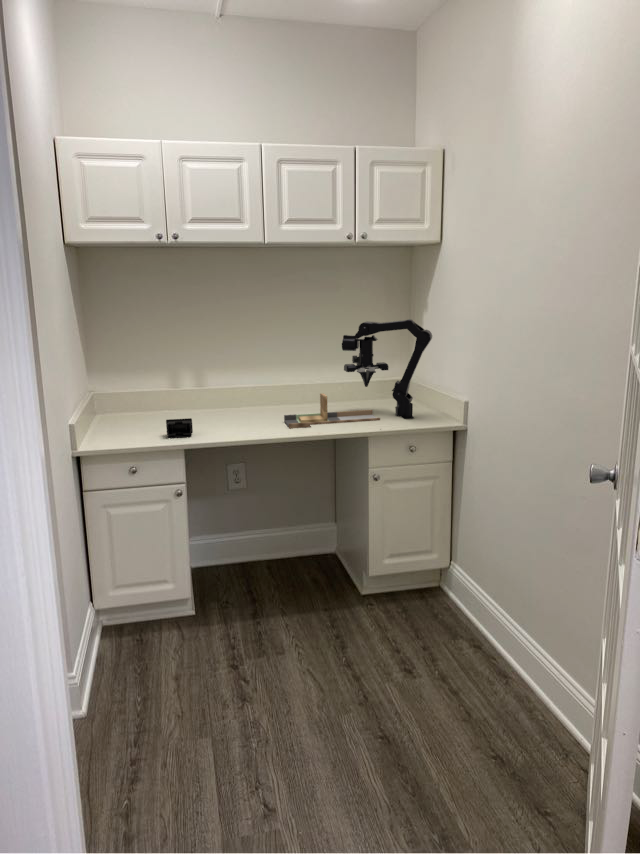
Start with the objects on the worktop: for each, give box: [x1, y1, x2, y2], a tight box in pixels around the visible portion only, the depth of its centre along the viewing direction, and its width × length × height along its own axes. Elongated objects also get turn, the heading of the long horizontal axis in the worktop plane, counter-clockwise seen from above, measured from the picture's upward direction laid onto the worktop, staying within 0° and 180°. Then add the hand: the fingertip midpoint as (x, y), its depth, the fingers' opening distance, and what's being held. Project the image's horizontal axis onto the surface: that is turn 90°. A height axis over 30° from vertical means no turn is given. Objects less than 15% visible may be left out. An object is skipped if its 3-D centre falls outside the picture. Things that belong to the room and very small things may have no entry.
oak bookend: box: [299, 393, 329, 423], centre depth 278 cm, size 11×7×11 cm, turn 102°
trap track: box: [283, 409, 377, 429], centre depth 282 cm, size 39×11×3 cm, turn 102°
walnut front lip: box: [288, 417, 381, 429], centre depth 276 cm, size 39×1×2 cm, turn 102°
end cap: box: [165, 417, 194, 439], centre depth 262 cm, size 10×7×7 cm
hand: (366, 386), depth 290 cm, fingers closed
